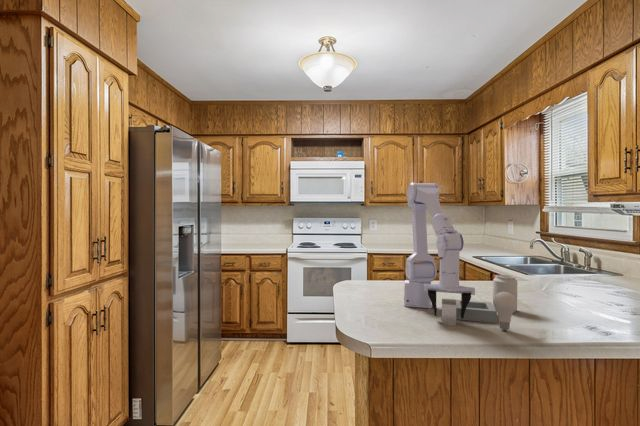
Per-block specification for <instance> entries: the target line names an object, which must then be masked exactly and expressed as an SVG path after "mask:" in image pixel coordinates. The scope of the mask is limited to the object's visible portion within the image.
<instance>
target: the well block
mask: <svg viewBox="0 0 640 426" xmlns="http://www.w3.org/2000/svg"><path fill="white" fill-rule="evenodd" d="M453 300H456V320H460V321H462V320H463V321H472V322H482V323H493V324H494V323H495V324H497V322H498V320H497V319H498V313H497V311H496V309H495V308H494V306H493V302H491V301H490V302H489V301H481V300H480V301H479V300H477V301H476V300H470V301H469V303H468V305H467V307H466V310H465V313H464V319H463V318H461V299H454V298H453Z"/></svg>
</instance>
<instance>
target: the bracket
mask: <svg viewBox="0 0 640 426" xmlns="http://www.w3.org/2000/svg"><path fill="white" fill-rule="evenodd" d="M453 299H454V298H453ZM453 299H452V298H451V299H449V298H441V325H450V326H457V319H456V300H457V299H455V300H453Z"/></svg>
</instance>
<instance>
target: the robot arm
mask: <svg viewBox="0 0 640 426" xmlns="http://www.w3.org/2000/svg"><path fill="white" fill-rule="evenodd" d="M440 192H441V191H440V186H439V185H438V183H436V182H432V183H431V182H430V183H429V182H427V183H425V182H410V183H409V185H408V187H407V191H406V195H407V196H406V197H407V198H406V200H407V206H408V207H409V208H411V222H412V223H411V225H412V226H411V227H412V228H411V229H412V243H413V244H412V245H413V246H412V247H413V253H412V254H411V255H409V256H408V257H407V258H406V262H405V263H406V264H405V276H406V278H407V279H405V280H404V290H403V291H404V295H403V301H404V302H403V306H404V307H411V308H412V307H413V308H421V309H422V308H423V309H433V313H434V314H433V315H434V317H437V316H438V314H437V313H438V311H437V310H438V309H437V293H447V294H449V293H450V294H460V295H461V297H460V298H461V299H460V300H461V318H463V319H464V313H465V310H466V307H467V305H468V303H469V301H471V299H472V296H475V295H476V288H475V287H472V286H463V285H460V252H461V251H462V250H463V248H464V245H465V244H464V241H465V240H464V237H463V234H462V233H461V232H459V231H458V230H455V227H454V225H453V223H452V221H451V219H450V217H449V215H448V214H445V213H444V211H443V209H442V205H441V203H440V199H439V197H440ZM427 210H428V212H429V214H430V216H431V217H432V219H431V220H430V223H431V226H432V228H433V230H434V233H435V236H436V241H435V245H436V248H437V255H438V258H439V277H438V280H439V281H438V282H439V283H438V284H435V283H432V282H434V279H435V278H436V277H437V274H438V273H437V271H438V269H437V266H436V260H435V258H434V257H433V256H432V255H431V254H429V251H428V249H429V248H428V232H427V214H426V213H427V212H426V211H427Z"/></svg>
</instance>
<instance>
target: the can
mask: <svg viewBox="0 0 640 426" xmlns="http://www.w3.org/2000/svg"><path fill="white" fill-rule="evenodd" d="M494 276H495V277H494V278H493V281H492V300H493V299H494V297H495V295H496V294H498V293H500V292H508V293H510V294H512V295H513V296H514V297H515V298H516V301H517V302H518V281H517V279H516V276H514V275H510V274H509V275H508V274H495V275H494ZM492 304H493V303H492ZM493 306H494V304H493ZM494 308H495V307H494ZM517 310H518V306H517V307H516V309H515V311H514V312H513V313H515V312H516V311H517Z"/></svg>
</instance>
